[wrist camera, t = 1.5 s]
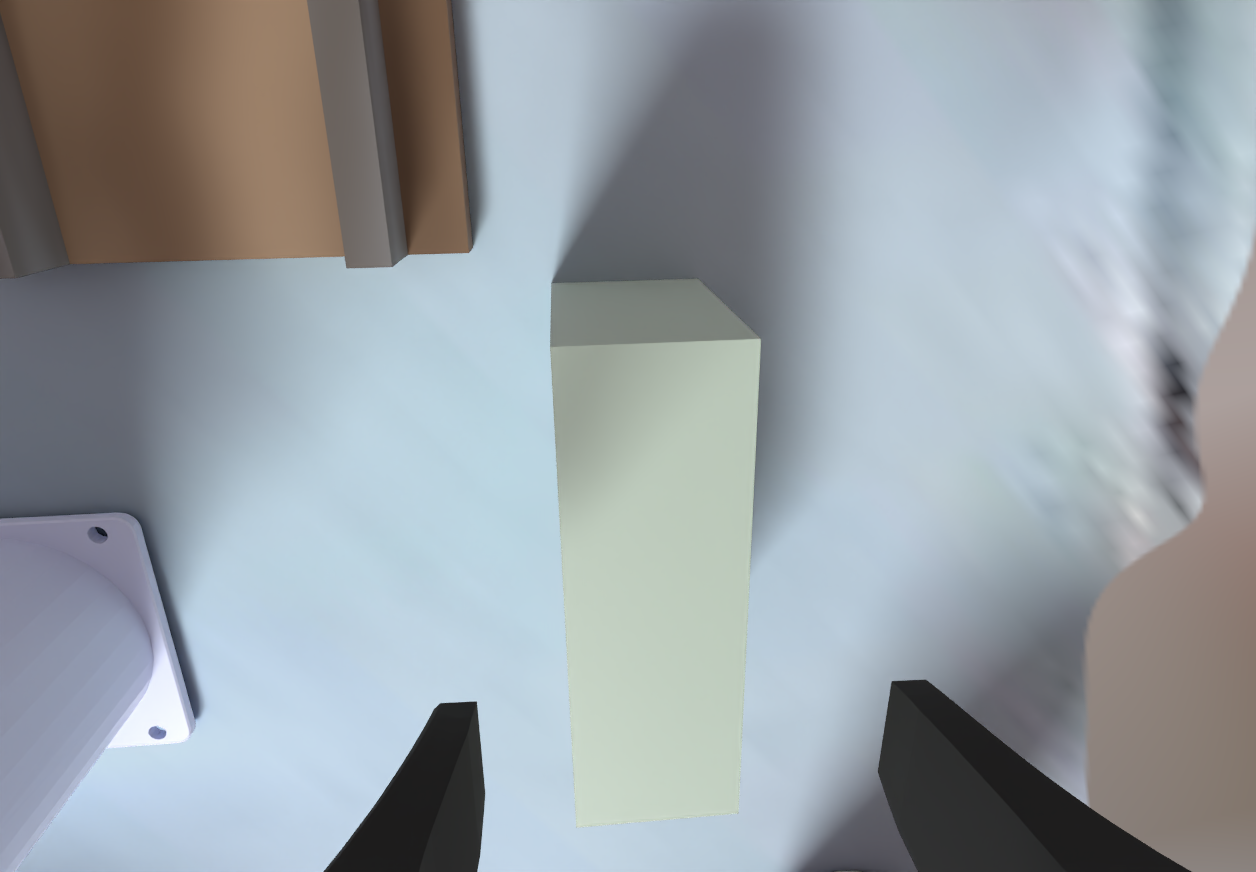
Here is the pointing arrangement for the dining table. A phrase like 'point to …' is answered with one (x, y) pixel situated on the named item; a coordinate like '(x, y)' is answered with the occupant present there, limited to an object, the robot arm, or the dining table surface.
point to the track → (229, 132)
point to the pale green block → (654, 542)
